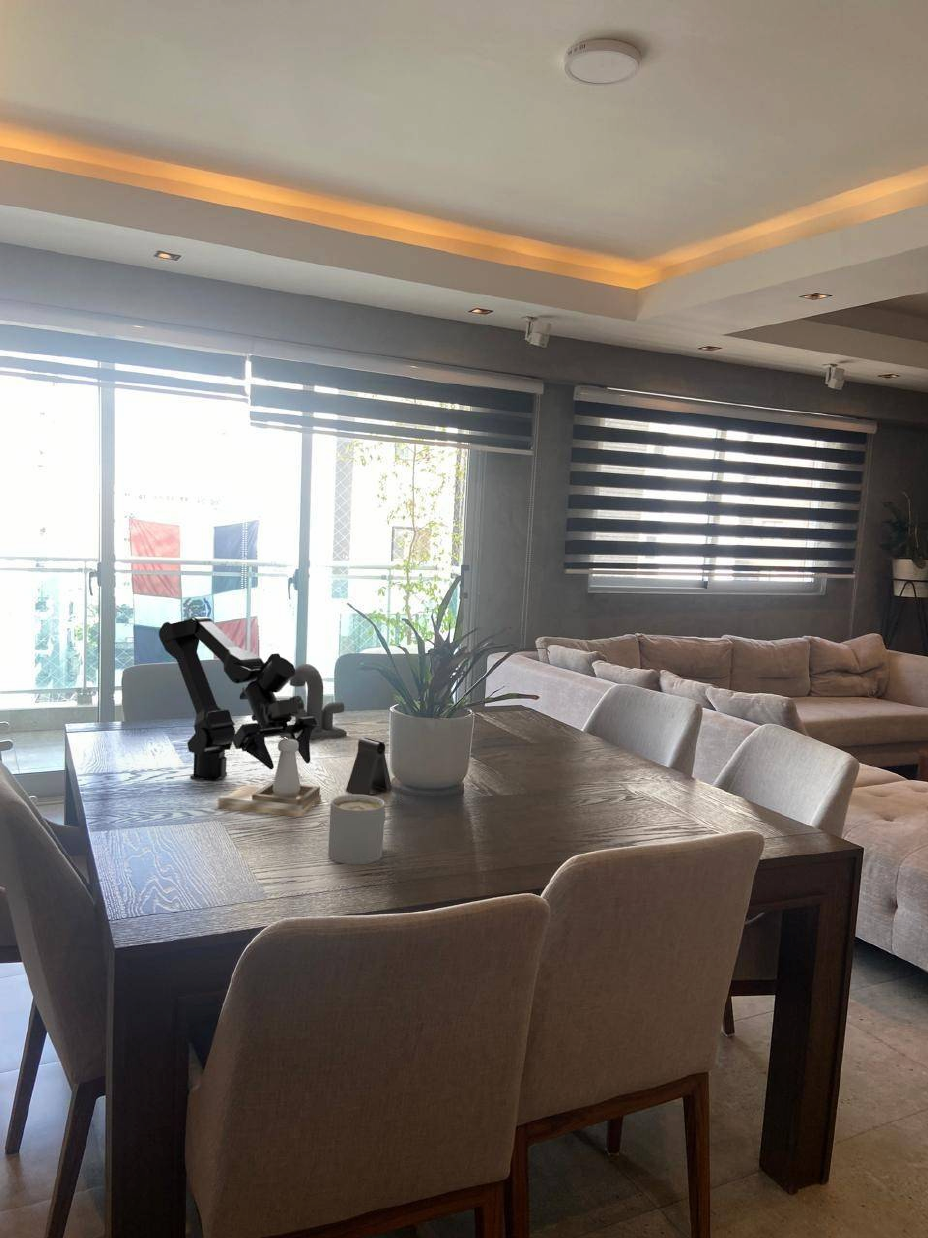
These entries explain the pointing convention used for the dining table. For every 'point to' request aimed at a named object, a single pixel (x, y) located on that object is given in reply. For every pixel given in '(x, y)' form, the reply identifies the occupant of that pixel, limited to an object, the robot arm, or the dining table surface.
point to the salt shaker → (287, 770)
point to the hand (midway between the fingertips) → (290, 765)
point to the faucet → (316, 703)
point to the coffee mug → (356, 829)
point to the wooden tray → (271, 800)
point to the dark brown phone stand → (369, 770)
